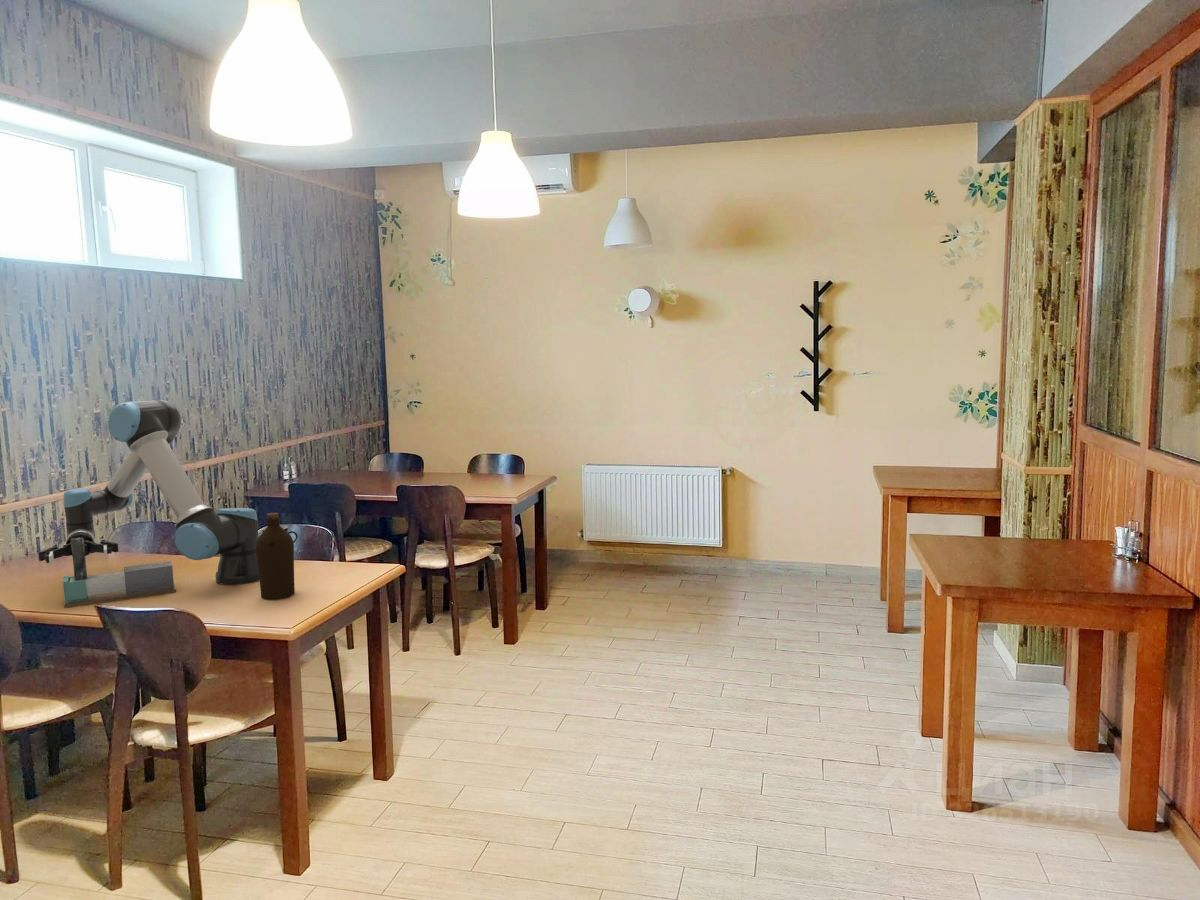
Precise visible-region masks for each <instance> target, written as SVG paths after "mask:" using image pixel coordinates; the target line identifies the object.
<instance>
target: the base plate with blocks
mask: <svg viewBox="0 0 1200 900" xmlns="http://www.w3.org/2000/svg"><path fill="white" fill-rule="evenodd" d="M123 571H124V574H125V585H126V590H124V591H117V592H110V593H103V594H96V595H89V596H88V598H87V601H80V602H73V603H66V604H65V599H64V603H63V609H68V608H75V607H82V606H89V605H95V604H96V605H97V604H102V603H103V604H104V603H109V602H110V603H111V602H117V601H123V600H130V599H137V598H143V597H144V598H146V597H151V596H158V595H165V594H171V593H176V592H177V588H176V586H175V584H176V583H174V571H173V563H172V561H171V560H168V561H159V562H152V563H151V562H150V563H143V564H136V565H128V566H123Z"/></svg>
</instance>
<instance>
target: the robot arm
mask: <svg viewBox="0 0 1200 900" xmlns="http://www.w3.org/2000/svg"><path fill="white" fill-rule="evenodd" d="M181 426H182V417H181V414H180V411H179V409H178V408H177V407H176V406H175V405H174V404H173V403H172V402H170V401H167V400H164V399H153V400H152V399H149V400H141V401H138V400H137V401H130V400H129V401H126V402H121V403H118V404H117V405H115V406H114V407H113V408H112V409H111V410H110V412H109V414H108V420H107V428H108V429H107V430H108V432H109V434H110V436H111V438H113V439H114V440H115V441H118V442H121V443H125V444H126V445H127V447H128V449H129V450H130V451H129V453H128V454H127V456H126V457H125V459H124V460H123V462H122V463H121V464H120V466H119V467H118V469H117V470H116V471H115V473H114V474H113V476H112V477H111V479H110V480H109V481H108V483H107V485H106V486H105V487H104V489H102V490H98V491H93V492H91V490H90V488H83V487H82V488H81V487H79V488H73V489H68V490H66V491H64V493H63V507H64V516H65V529H66V543H65V544H63V545H62V546H61V547H60V545H58V544H55V545H53V546H51V547H48V548H47V549H44V550H41V551H39V552H38V561H39V562H43V561H45V562H46V564H49V566H54V562H55V559H58V558H62V557H70V556H71V557H72V547H71V539H72V538H78V537H83V538H84V548H85V557H87V556H89V554H95V553H101V554H103V555H104V558H103V559H104V560H105V559H108V555H110V554H112V553H119V543H116V542H111V541H108V540H106V539H101V540H99V542H95V539H96V531H95V526H94V516H98V515H101V514H106V513H111V512H116V511H121V510H124V509H126V508H128V507H130V506H131V505H132V503H133V494H132V492H133V491H135V490H134V489H136V487H137V485H138V484H139V483H140V481H141V480H142V479H143V477H144V476H145V474H146V473H147V471H148V472H149V474H150V475H151V477H152V479H153V480H154V482H155V484H156V486H157V488H158V489H159V491H160V493H161V494H162V496H163V497H164V499H165V501H166V502H167V504H168V506H169V508H170V509H171V512H172V513H173V514H174V517H175V518H176V522H175V525H174V527H175V529H176V531H175V534H174V538H175V540H174V543H175V546H176V548H177V550H178V551H179V552H180V554H181V555H183V556H184V557H186V558H187V559H190V560H193V561H202V560H206V559H207V560H208V559H211V558H213V557H215V556H218V555H219V561H218V566H217V571H216V572H215V582H216V583H217V584H221V585H225V586H226V585H228V586H229V585H233V586H234V585H244V584H249V583H255V582H258V581H259V582H260V579H259V571H258V563H257V555H256V542H257V539H258V537H259V526H258V524H259V523H258V521H259V520H258V516H257V512H256V510H255V509H254V508H251V507H250V508H247V507H225V508H224V507H223V508H219V509H217V511H215V510H214V508H213V507H212V506H209V505H206V504H205V503H204V501H203V500H202V498H201V496H200V494H199V493H198V491H197V490H196V488H195V486H194V485H193V483H192V481H191V480H190V478H189V477H188V474H187V473H186V471H185V470H184V468H183V467H182V465H181V463H180V461H179V459H178V458H177V456H176V454H175V452H174V451H173V449H172V448H171V446H170V444H171V443H172V442H173V441H175V438H176V437H177V435H178V433H179V431H180V429H181Z"/></svg>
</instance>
